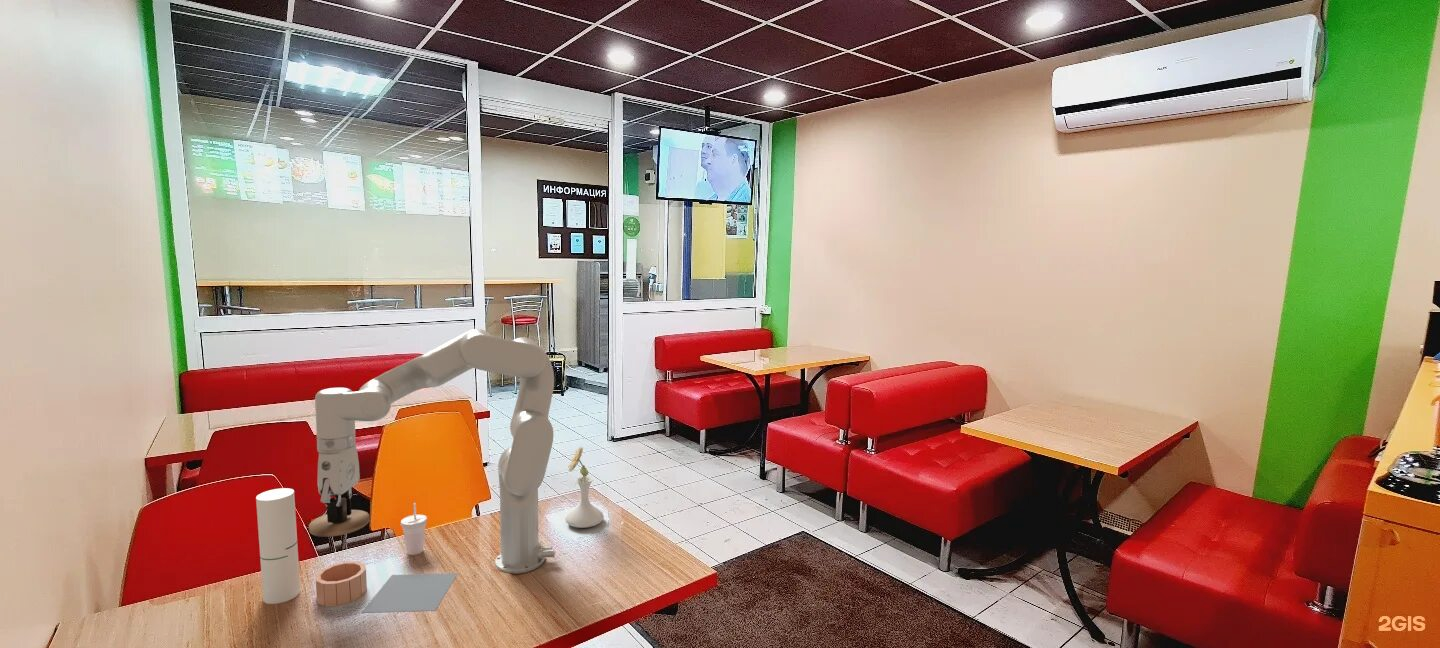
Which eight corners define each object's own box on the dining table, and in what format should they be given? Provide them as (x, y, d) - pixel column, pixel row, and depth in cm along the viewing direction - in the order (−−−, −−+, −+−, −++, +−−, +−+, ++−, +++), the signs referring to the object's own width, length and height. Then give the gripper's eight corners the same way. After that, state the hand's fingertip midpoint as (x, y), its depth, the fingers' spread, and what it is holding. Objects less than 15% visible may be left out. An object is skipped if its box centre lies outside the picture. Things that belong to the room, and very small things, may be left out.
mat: (458, 575, 156) (458, 573, 156) (435, 612, 140) (435, 610, 140) (392, 577, 154) (392, 574, 154) (361, 615, 138) (361, 612, 138)
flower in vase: (572, 513, 193) (572, 436, 190) (608, 516, 192) (608, 439, 189) (557, 532, 180) (557, 450, 177) (595, 535, 179) (595, 453, 176)
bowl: (374, 583, 151) (373, 560, 150) (354, 607, 141) (352, 583, 140) (331, 585, 150) (329, 561, 149) (307, 608, 140) (306, 584, 139)
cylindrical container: (307, 590, 147) (301, 490, 144) (277, 606, 141) (270, 502, 138) (286, 584, 150) (279, 486, 146) (255, 600, 143) (248, 497, 140)
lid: (378, 513, 150) (377, 489, 149) (354, 536, 138) (353, 510, 137) (325, 514, 148) (324, 490, 148) (297, 537, 137) (296, 511, 136)
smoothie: (433, 548, 169) (431, 499, 167) (419, 560, 163) (417, 509, 161) (411, 546, 170) (409, 498, 168) (396, 558, 163) (394, 508, 162)
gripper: (335, 454, 133) (338, 534, 135) (370, 431, 149) (372, 503, 152) (298, 454, 132) (302, 534, 135) (337, 431, 149) (340, 504, 151)
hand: (339, 517), depth 143 cm, fingers closed on lid, 3 cm apart
